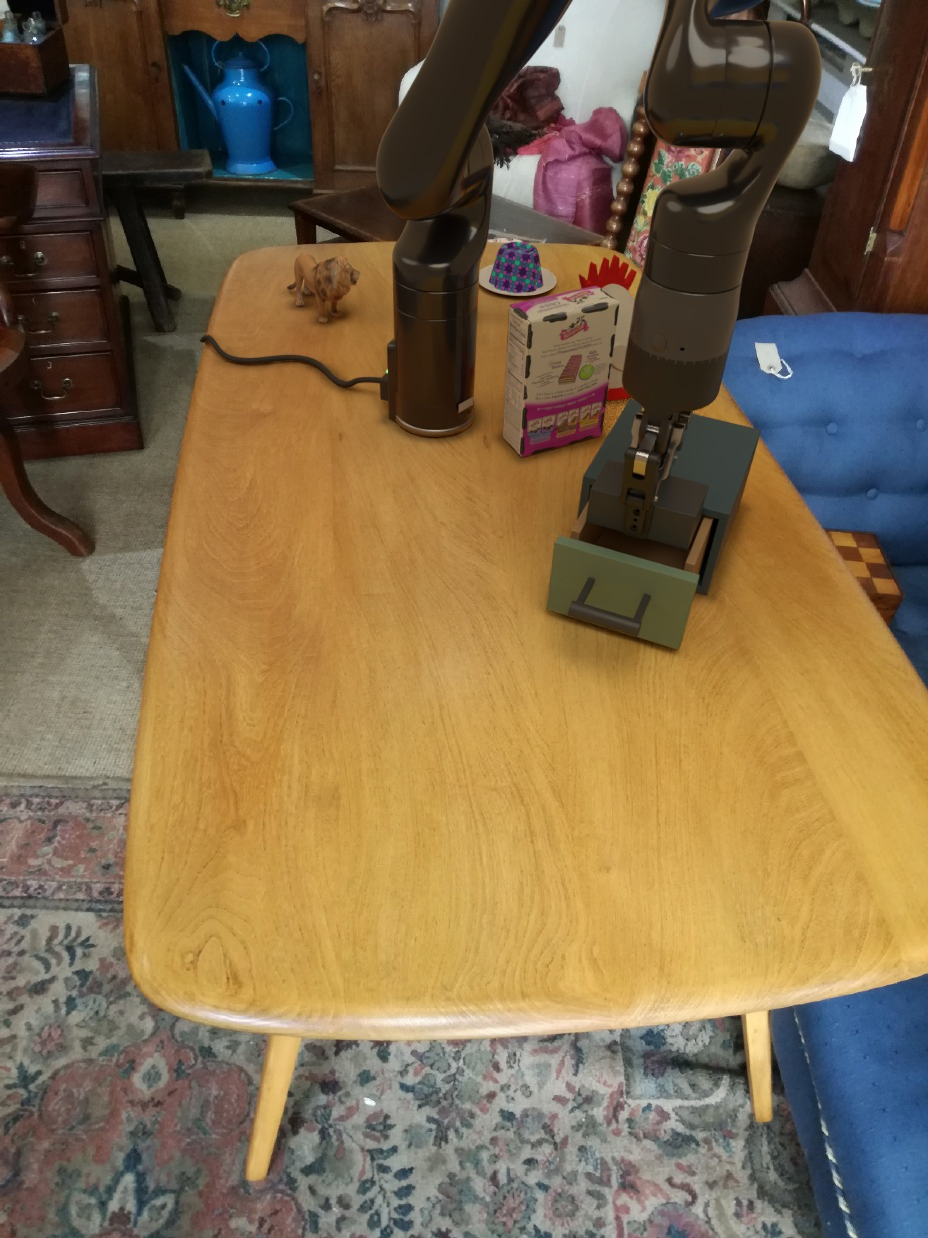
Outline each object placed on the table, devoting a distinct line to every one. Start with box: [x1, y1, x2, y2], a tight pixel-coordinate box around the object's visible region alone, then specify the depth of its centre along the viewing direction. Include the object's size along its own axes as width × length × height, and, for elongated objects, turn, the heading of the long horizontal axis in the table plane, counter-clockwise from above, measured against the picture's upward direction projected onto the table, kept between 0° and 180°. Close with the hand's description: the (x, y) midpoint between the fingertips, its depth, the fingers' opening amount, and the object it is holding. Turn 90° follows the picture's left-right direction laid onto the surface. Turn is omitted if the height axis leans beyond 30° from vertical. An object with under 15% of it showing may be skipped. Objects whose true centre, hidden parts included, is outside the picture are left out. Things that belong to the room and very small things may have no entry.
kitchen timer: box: [578, 254, 637, 402], centre depth 115 cm, size 14×14×15 cm
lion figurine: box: [286, 252, 361, 324], centre depth 128 cm, size 15×5×9 cm, turn 45°
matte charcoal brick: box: [586, 460, 709, 550], centre depth 80 cm, size 9×5×4 cm, turn 67°
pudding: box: [479, 241, 558, 297], centre depth 138 cm, size 12×12×5 cm
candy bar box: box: [502, 286, 620, 458], centre depth 103 cm, size 11×5×16 cm, turn 117°
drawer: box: [546, 501, 717, 651], centre depth 84 cm, size 19×12×8 cm, turn 157°
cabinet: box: [576, 398, 762, 596], centre depth 93 cm, size 16×14×10 cm
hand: (643, 515), depth 81 cm, fingers closed on matte charcoal brick, 5 cm apart
